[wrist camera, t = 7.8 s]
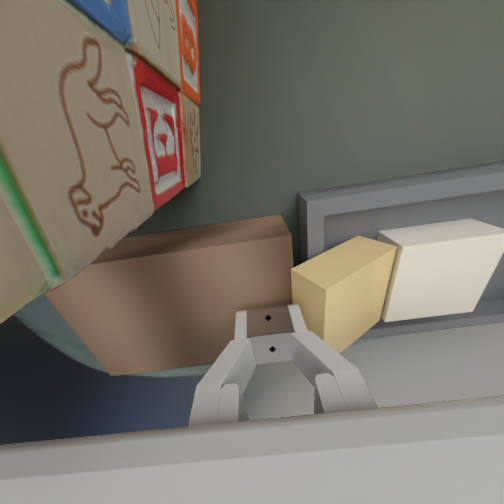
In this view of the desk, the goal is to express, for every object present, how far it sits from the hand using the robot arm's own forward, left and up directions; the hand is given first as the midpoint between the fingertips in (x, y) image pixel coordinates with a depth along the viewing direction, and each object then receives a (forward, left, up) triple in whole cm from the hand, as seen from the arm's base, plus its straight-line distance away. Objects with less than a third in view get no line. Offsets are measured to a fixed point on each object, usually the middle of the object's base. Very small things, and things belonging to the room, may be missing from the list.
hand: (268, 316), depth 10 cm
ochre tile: (-3, 0, -2) cm, 4 cm away
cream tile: (-9, 0, -1) cm, 9 cm away
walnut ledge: (+5, 0, -4) cm, 6 cm away
